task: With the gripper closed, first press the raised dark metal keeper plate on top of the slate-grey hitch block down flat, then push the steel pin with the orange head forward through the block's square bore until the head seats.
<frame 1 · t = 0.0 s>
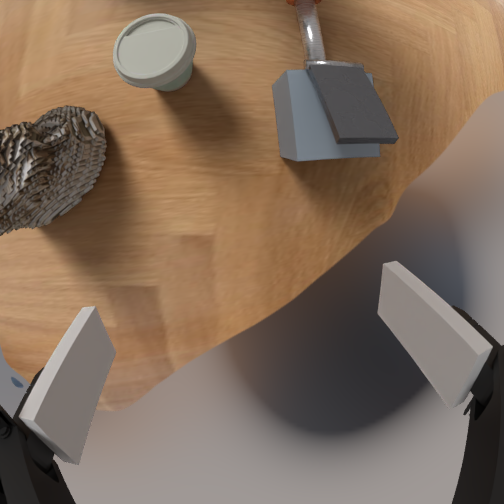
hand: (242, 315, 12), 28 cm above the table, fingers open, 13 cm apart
lynch pin: (312, 38, 27), point 4 cm above the table, slide at 0.0 cm
sculpture: (59, 166, 33), on the table
keeper plate: (350, 96, 23), point 13 cm above the table, hinge at 35.0°
hitch block: (312, 118, 35), on the table
coffee cup: (170, 72, 31), on the table
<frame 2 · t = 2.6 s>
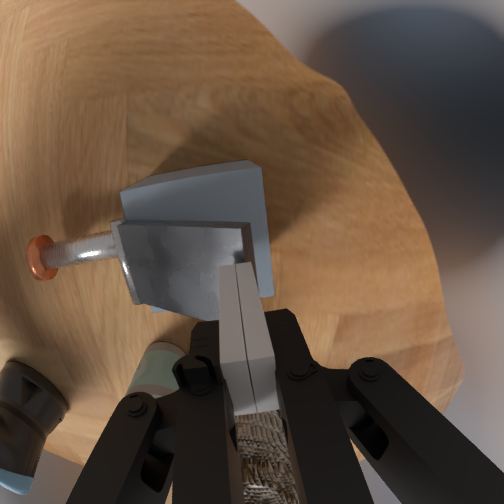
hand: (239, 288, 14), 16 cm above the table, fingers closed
lynch pin: (95, 247, 24), point 5 cm above the table, slide at 0.0 cm
sculpture: (249, 424, 43), on the table
keeper plate: (174, 270, 17), point 12 cm above the table, hinge at 33.1°, touching gripper
hitch block: (205, 215, 28), on the table
coffee cup: (165, 356, 35), on the table
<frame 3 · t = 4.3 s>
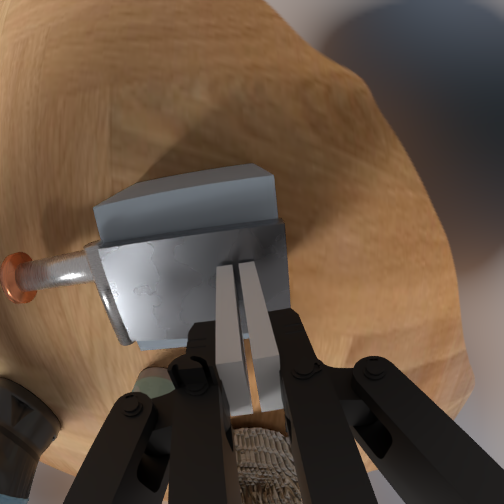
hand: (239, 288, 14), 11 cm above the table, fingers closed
lynch pin: (74, 268, 19), point 4 cm above the table, slide at 0.0 cm
sculpture: (252, 445, 39), on the table
keeper plate: (186, 289, 15), point 10 cm above the table, hinge at 4.3°, touching gripper
hitch block: (202, 229, 24), on the table
coffee cup: (161, 381, 31), on the table
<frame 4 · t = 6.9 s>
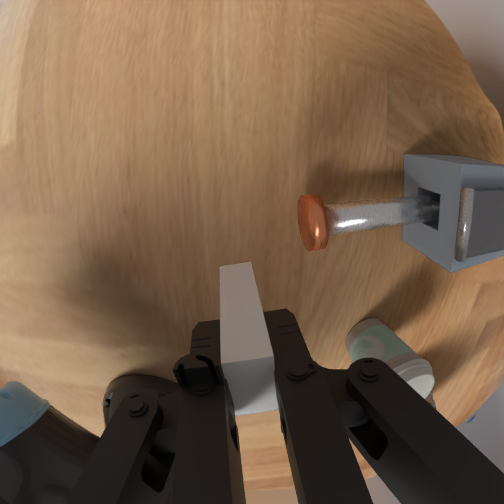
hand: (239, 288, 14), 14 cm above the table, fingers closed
lynch pin: (383, 213, 23), point 4 cm above the table, slide at 0.0 cm
keeper plate: (495, 221, 19), point 10 cm above the table, hinge at 4.2°
hitch block: (434, 195, 28), on the table
coffee cup: (364, 334, 35), on the table
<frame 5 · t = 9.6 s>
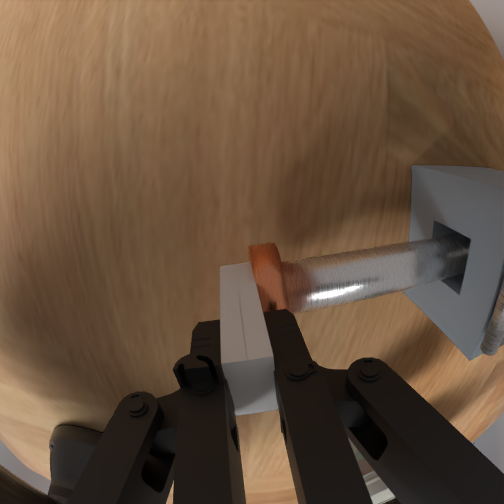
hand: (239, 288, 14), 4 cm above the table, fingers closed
lynch pin: (392, 268, 14), point 5 cm above the table, slide at 1.2 cm, touching gripper
hitch block: (453, 226, 19), on the table
coffee cup: (343, 402, 25), on the table
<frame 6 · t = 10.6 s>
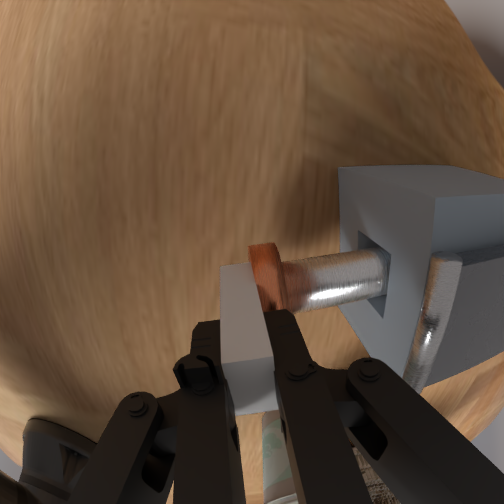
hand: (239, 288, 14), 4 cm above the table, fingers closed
lynch pin: (392, 268, 14), point 4 cm above the table, slide at 7.0 cm, touching gripper
sculpture: (347, 461, 33), on the table
keeper plate: (500, 308, 9), point 10 cm above the table, hinge at 4.2°
hitch block: (400, 234, 18), on the table
coffee cup: (289, 414, 25), on the table
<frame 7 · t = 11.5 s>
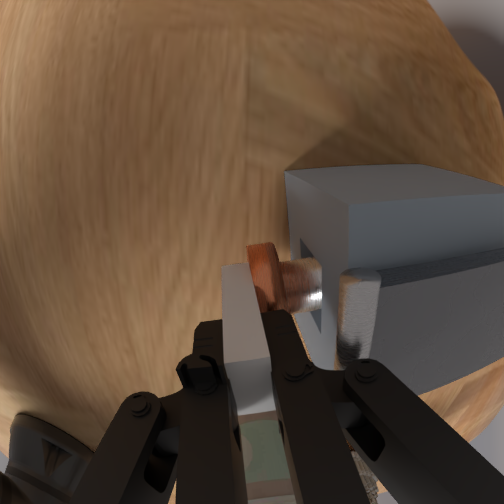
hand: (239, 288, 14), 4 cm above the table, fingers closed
lynch pin: (392, 268, 14), point 4 cm above the table, slide at 10.4 cm, touching gripper
sculpture: (327, 467, 32), on the table
keeper plate: (457, 330, 9), point 10 cm above the table, hinge at 4.2°, touching gripper
hitch block: (361, 239, 18), on the table
coffee cup: (257, 420, 25), on the table
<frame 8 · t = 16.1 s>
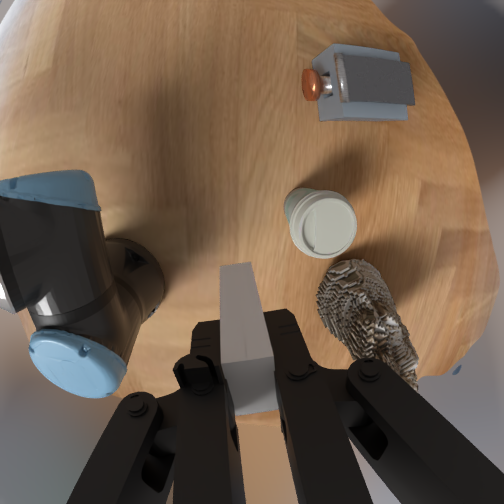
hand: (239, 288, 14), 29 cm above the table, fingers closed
lynch pin: (357, 86, 33), point 4 cm above the table, slide at 10.4 cm
sculpture: (350, 298, 51), on the table
keeper plate: (376, 79, 27), point 10 cm above the table, hinge at 4.2°
hitch block: (345, 90, 37), on the table
coffee cup: (301, 205, 43), on the table
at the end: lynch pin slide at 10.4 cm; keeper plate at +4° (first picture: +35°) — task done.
